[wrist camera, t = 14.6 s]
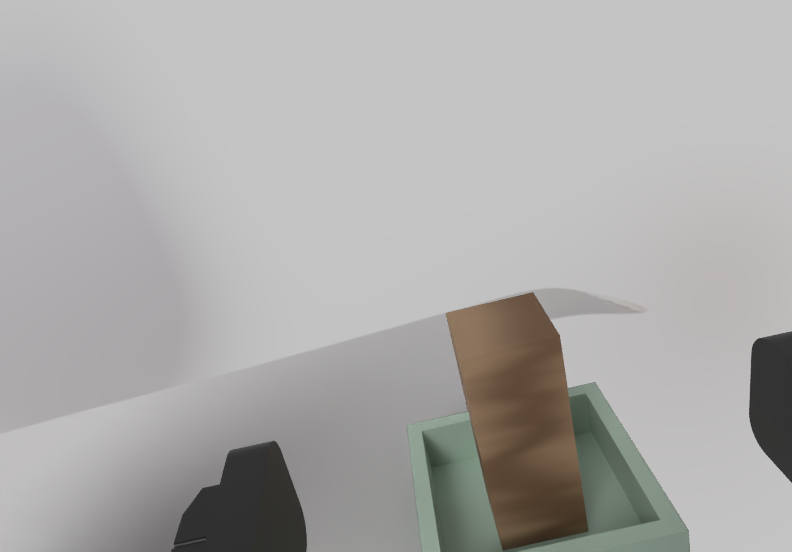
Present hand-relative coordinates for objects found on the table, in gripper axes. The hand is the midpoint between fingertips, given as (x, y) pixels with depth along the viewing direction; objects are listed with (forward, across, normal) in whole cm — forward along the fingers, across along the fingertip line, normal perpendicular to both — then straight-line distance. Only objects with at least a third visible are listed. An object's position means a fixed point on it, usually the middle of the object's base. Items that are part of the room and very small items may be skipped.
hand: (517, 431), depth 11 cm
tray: (+15, -2, +19) cm, 25 cm away
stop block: (+15, -2, +18) cm, 24 cm away
